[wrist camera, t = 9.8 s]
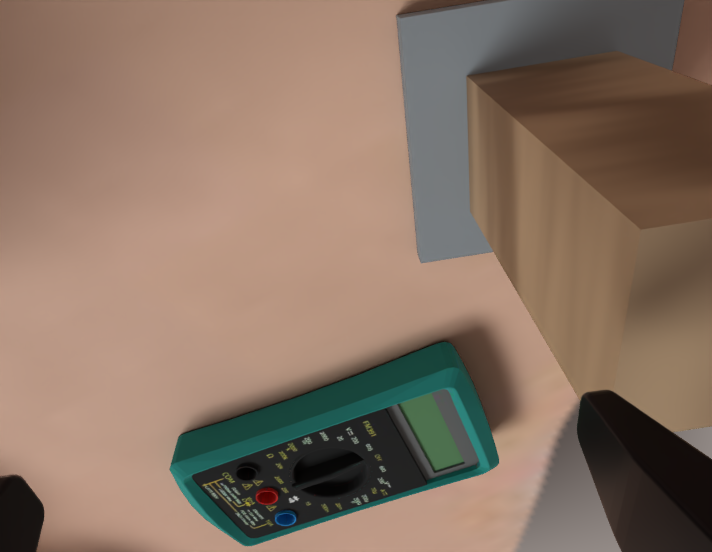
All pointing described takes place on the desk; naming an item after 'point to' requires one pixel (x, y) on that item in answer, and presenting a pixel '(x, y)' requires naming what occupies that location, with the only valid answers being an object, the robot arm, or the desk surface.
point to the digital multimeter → (338, 448)
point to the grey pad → (492, 53)
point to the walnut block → (604, 221)
